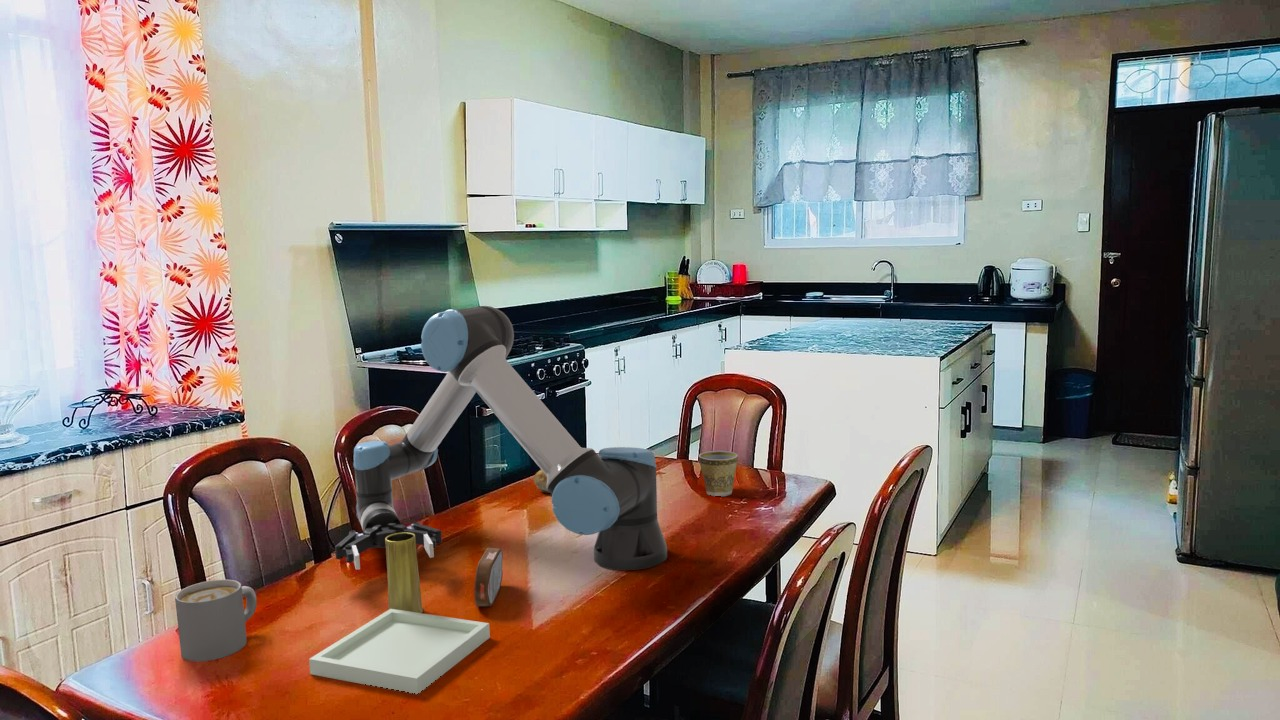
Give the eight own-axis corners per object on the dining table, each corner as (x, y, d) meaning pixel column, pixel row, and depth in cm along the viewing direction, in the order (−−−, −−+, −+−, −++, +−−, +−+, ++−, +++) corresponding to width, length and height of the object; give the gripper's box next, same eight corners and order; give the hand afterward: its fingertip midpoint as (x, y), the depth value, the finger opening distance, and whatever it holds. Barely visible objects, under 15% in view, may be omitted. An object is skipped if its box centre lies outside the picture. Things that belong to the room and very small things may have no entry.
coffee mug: (198, 667, 142) (191, 607, 141) (170, 651, 148) (164, 593, 147) (277, 637, 152) (272, 580, 151) (248, 623, 159) (243, 569, 157)
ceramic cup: (740, 498, 225) (739, 459, 223) (700, 499, 225) (699, 460, 224) (735, 484, 238) (734, 447, 236) (698, 485, 238) (697, 448, 236)
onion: (538, 488, 241) (537, 459, 240) (567, 488, 240) (566, 459, 239) (531, 496, 233) (529, 466, 232) (561, 496, 232) (559, 466, 231)
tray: (489, 637, 149) (489, 623, 149) (417, 694, 131) (416, 678, 131) (391, 622, 157) (390, 608, 156) (310, 674, 138) (309, 658, 138)
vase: (429, 608, 162) (424, 532, 160) (410, 622, 157) (405, 543, 155) (401, 605, 164) (395, 530, 162) (381, 618, 159) (375, 541, 157)
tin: (490, 582, 174) (488, 541, 173) (506, 582, 174) (504, 540, 173) (473, 614, 159) (470, 569, 158) (491, 614, 159) (488, 568, 158)
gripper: (441, 533, 193) (462, 564, 173) (319, 552, 183) (327, 587, 164) (439, 499, 192) (459, 527, 172) (317, 516, 182) (323, 548, 163)
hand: (395, 556), depth 168 cm, fingers open, 13 cm apart
